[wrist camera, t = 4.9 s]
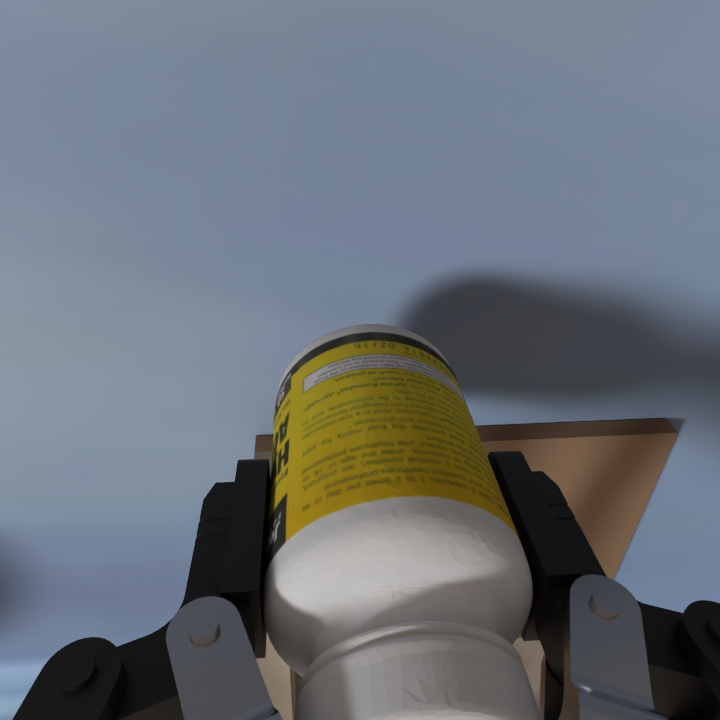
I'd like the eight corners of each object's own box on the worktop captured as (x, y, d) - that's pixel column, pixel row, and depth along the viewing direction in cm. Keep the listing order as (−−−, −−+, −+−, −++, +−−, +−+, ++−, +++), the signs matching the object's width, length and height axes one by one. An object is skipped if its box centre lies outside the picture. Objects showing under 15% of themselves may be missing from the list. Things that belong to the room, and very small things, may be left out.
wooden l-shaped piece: (665, 418, 24) (783, 546, 19) (576, 628, 33) (639, 761, 27) (256, 435, 23) (244, 585, 17) (274, 654, 31) (271, 804, 25)
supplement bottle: (253, 337, 15) (199, 730, 7) (446, 301, 15) (620, 654, 7) (297, 475, 18) (294, 863, 10) (459, 445, 18) (589, 812, 10)
